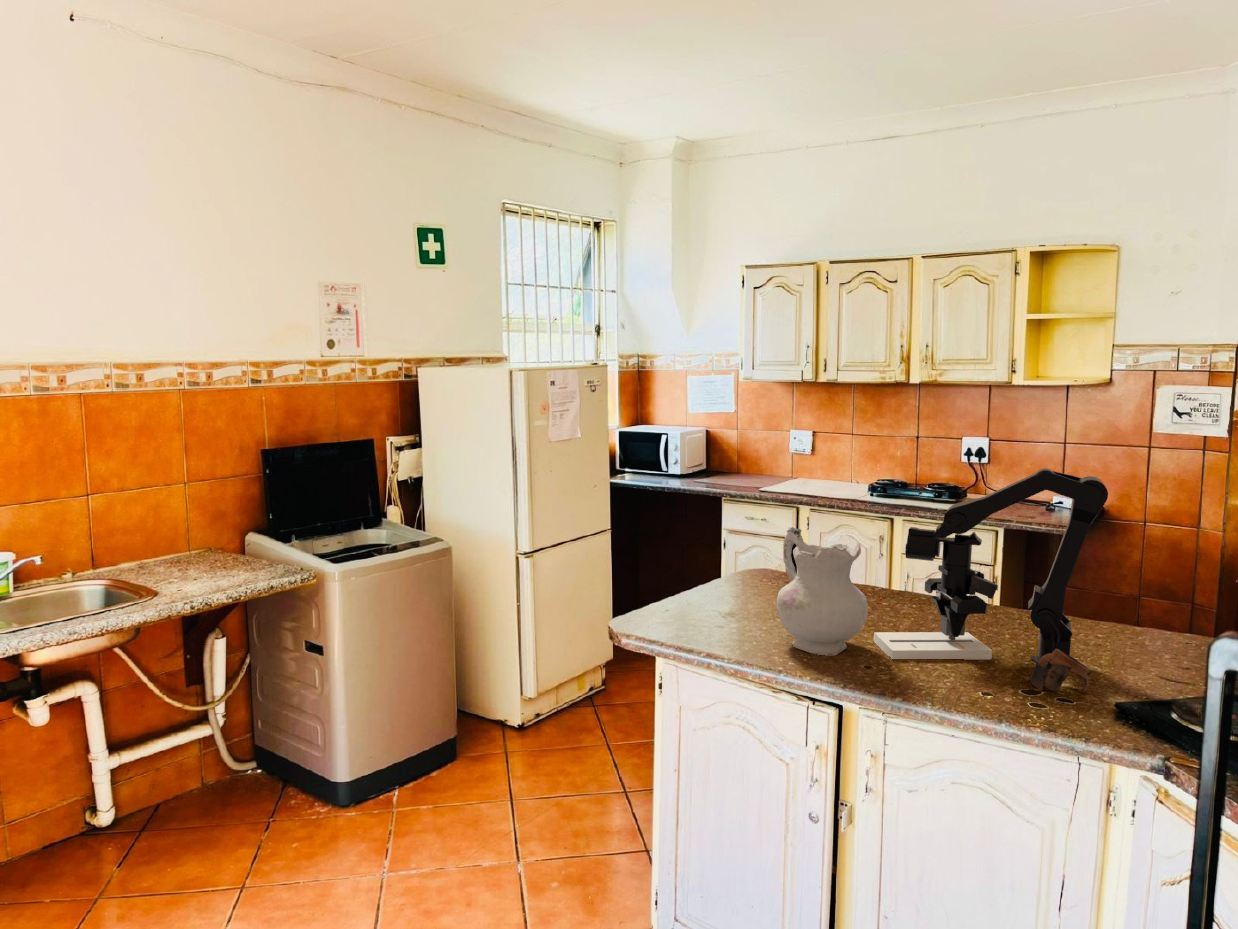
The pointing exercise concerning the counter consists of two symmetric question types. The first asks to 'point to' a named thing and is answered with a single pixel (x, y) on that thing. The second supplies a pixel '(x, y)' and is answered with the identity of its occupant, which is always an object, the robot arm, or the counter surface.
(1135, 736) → the counter surface
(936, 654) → the fader panel
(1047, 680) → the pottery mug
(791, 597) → the ceramic pitcher
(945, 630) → the fader knob
